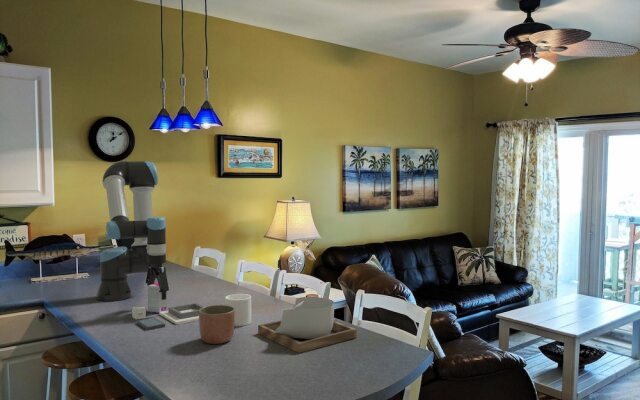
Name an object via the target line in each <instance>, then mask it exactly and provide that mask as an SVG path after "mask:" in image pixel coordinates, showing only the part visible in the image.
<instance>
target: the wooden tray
mask: <svg viewBox="0 0 640 400" xmlns="http://www.w3.org/2000/svg"><path fill="white" fill-rule="evenodd" d="M280 324H281V320H277V321H272V322H271V321H270V322H267V323H262V324H258V325H257V331H258V332H257V334H259V335H260V336H263V337H265V338H267V339H269V340H271V341H273V342H275V343H278V344H280V345H281V346H283V347H286V348H288V349H289V350H292V351H295V352H297V353H299V354H300V353H305V352H308V351H312V350H315V349H318V348H322V347H327V346H331V345H334V344H337V343H341V342H344V341H345V342H346V341H350V340H351V339H355V338H357V334H358V332H357V331H358V330H357V328H355V327H352V326H350V325H349V326H348V324H347V325H346V324H343V323H341V322H338V321H335V320H334V322H333V328H332V330H331V331H335V332H334V333H329V334H328V335H326V336H322V337H318V338H314V339H305V340H304V341H299V340H296V339H295V338H292V337H287V336H285V335H283V334H279V333H275V330H276V329H277V328H278V327H279V326H280Z"/></svg>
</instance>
